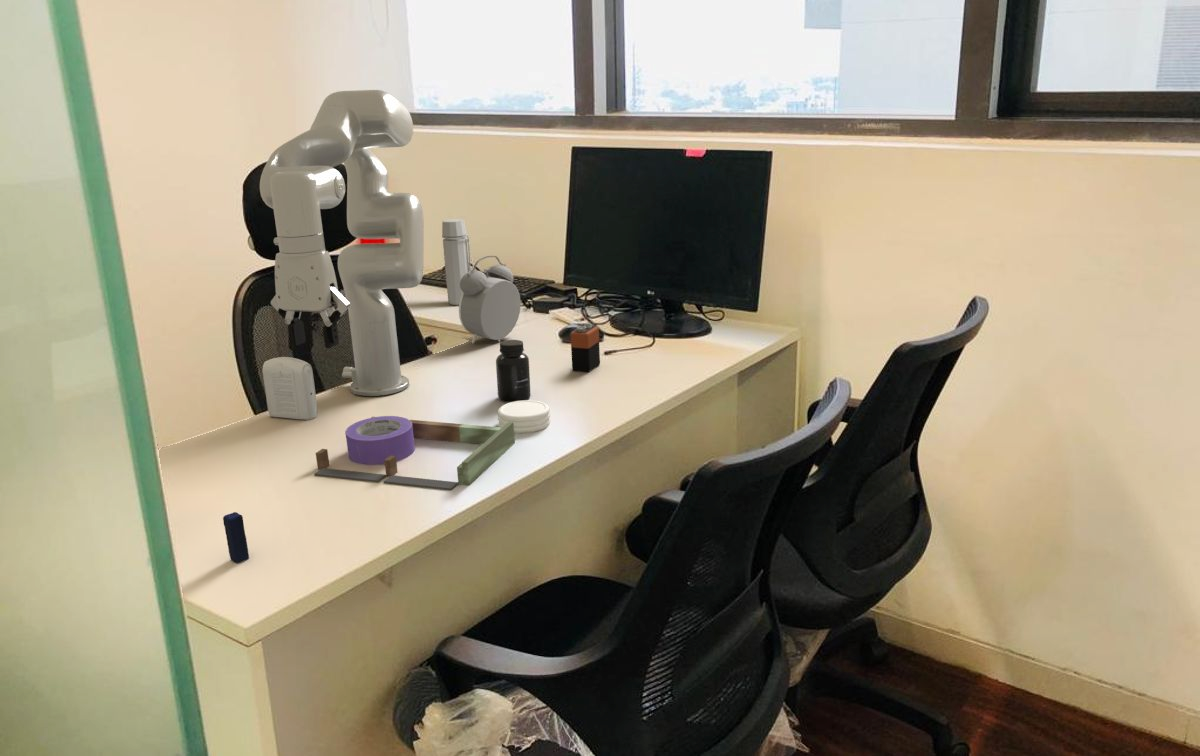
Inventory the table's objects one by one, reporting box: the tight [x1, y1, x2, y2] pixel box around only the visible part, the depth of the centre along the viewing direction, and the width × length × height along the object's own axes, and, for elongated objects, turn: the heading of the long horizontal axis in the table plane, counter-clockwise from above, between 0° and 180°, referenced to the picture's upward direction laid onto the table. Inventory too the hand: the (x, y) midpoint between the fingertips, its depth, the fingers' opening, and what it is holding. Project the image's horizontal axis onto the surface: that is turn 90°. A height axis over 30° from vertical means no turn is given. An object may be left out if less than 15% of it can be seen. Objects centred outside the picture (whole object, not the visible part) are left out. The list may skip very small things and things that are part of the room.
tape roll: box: [344, 415, 416, 466], centre depth 165 cm, size 12×12×5 cm
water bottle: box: [441, 218, 476, 307], centre depth 274 cm, size 9×8×25 cm
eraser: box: [222, 511, 250, 564], centre depth 129 cm, size 2×2×7 cm
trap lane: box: [315, 416, 516, 486], centre depth 163 cm, size 29×19×4 cm, turn 72°
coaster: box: [497, 399, 551, 434], centre depth 177 cm, size 10×10×4 cm
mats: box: [314, 467, 459, 491], centre depth 154 cm, size 26×2×1 cm, turn 72°
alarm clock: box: [458, 255, 522, 344], centre depth 233 cm, size 16×9×22 cm, turn 144°
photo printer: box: [262, 356, 319, 421], centre depth 184 cm, size 10×4×12 cm, turn 72°
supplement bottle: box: [495, 339, 531, 403], centre depth 190 cm, size 7×7×12 cm
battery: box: [570, 322, 601, 373], centre depth 209 cm, size 4×7×10 cm, turn 157°
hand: (315, 344), depth 163 cm, fingers open, 6 cm apart
